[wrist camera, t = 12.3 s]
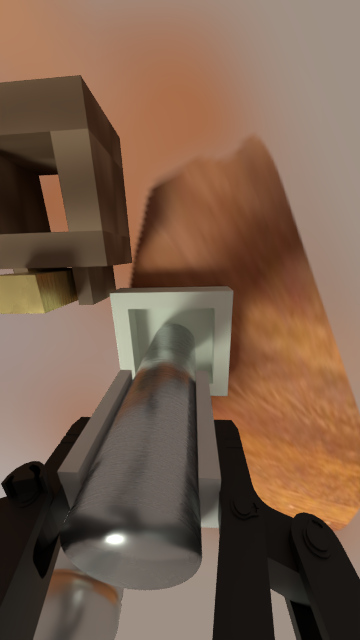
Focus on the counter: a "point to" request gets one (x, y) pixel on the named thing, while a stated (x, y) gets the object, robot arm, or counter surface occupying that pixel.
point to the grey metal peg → (144, 479)
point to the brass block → (37, 291)
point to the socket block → (61, 184)
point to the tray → (183, 309)
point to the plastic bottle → (78, 606)
